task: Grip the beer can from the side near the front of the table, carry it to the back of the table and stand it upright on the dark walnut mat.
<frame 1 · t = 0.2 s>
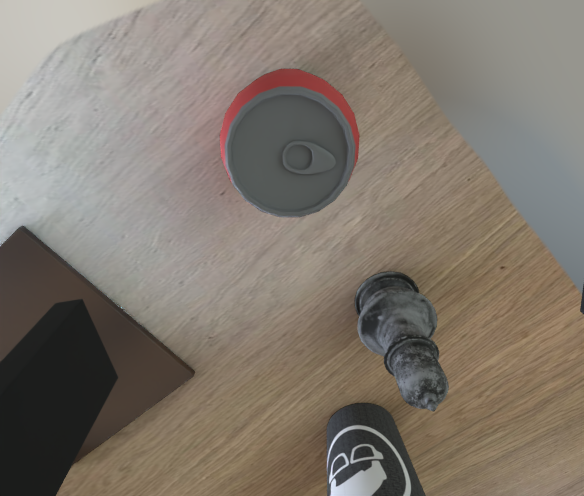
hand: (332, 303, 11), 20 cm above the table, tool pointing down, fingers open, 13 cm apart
coffee cup: (360, 427, 40), on the table
salt shaker: (386, 299, 35), on the table
beer can: (288, 120, 29), on the table
back mat: (47, 362, 37), on the table
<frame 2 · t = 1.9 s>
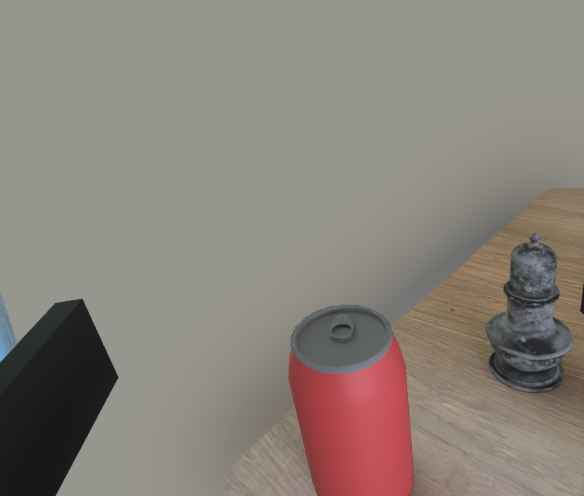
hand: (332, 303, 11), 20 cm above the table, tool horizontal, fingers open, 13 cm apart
salt shaker: (524, 369, 34), on the table
beer can: (363, 479, 28), on the table
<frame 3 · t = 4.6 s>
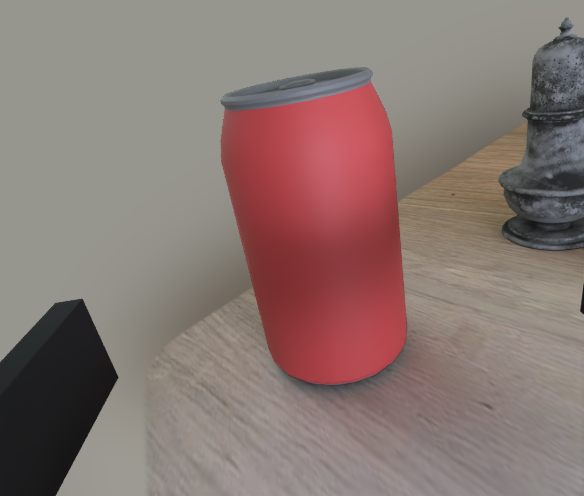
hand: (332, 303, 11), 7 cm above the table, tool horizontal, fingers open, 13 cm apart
salt shaker: (548, 233, 27), on the table
beer can: (338, 346, 21), on the table
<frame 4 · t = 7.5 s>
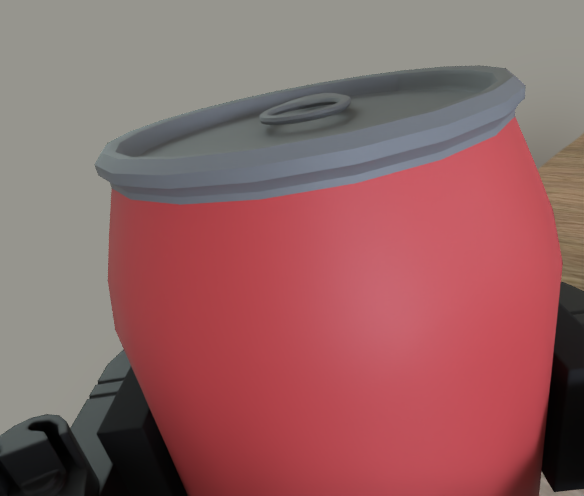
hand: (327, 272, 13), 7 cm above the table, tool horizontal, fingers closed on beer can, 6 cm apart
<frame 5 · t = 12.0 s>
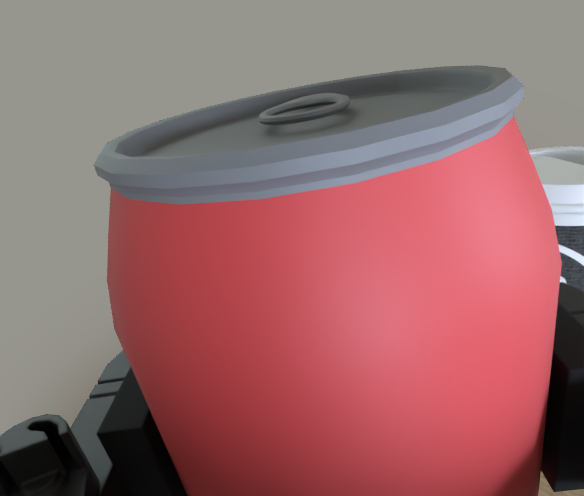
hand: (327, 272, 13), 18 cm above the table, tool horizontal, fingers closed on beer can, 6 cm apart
coffee cup: (545, 354, 33), on the table
when the fingers open (7 cm above the table, at t = 16.7 s): beer can stays where it is, resting on back mat.
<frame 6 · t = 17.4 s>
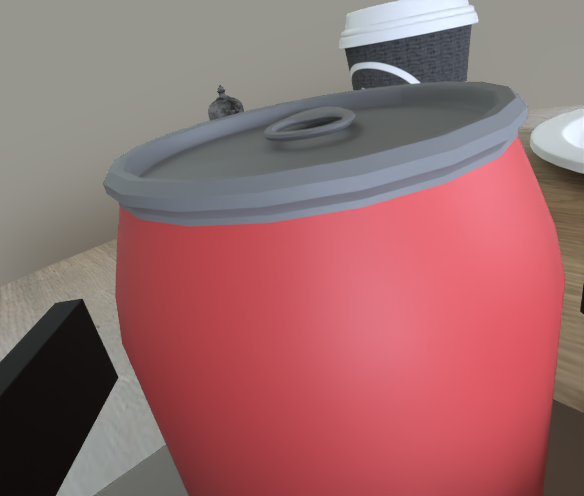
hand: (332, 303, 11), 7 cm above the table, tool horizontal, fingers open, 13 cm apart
coffee cup: (415, 206, 36), on the table
salt shaker: (253, 228, 38), on the table
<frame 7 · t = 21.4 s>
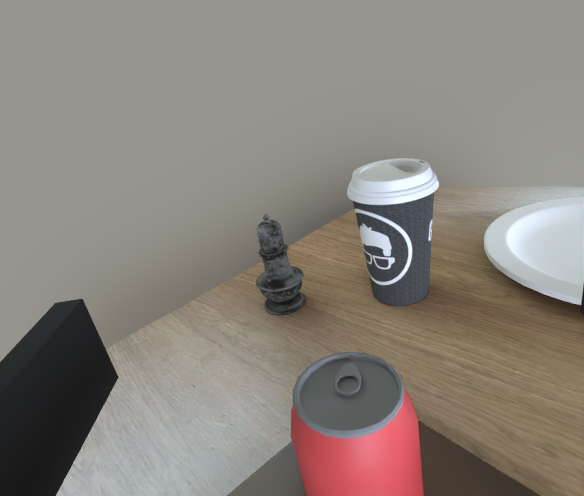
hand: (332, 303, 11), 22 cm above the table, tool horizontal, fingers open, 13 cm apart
coffee cup: (400, 291, 51), on the table
salt shaker: (285, 303, 53), on the table
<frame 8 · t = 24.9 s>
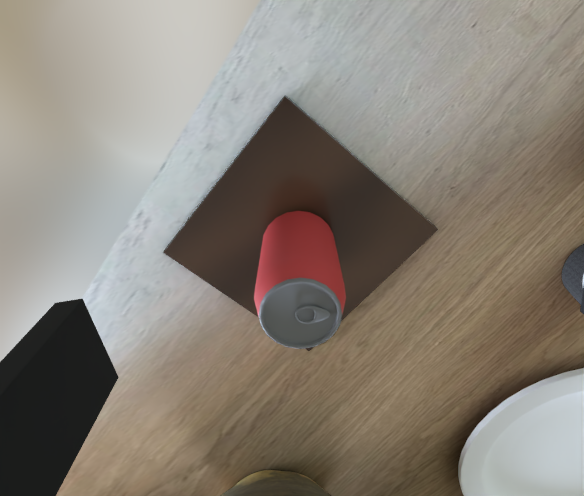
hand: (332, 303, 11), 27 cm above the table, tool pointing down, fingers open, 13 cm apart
plate: (569, 445, 51), on the table
beer can: (298, 241, 39), resting on back mat
back mat: (298, 238, 40), on the table
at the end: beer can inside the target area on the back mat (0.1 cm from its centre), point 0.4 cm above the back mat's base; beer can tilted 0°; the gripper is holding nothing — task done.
